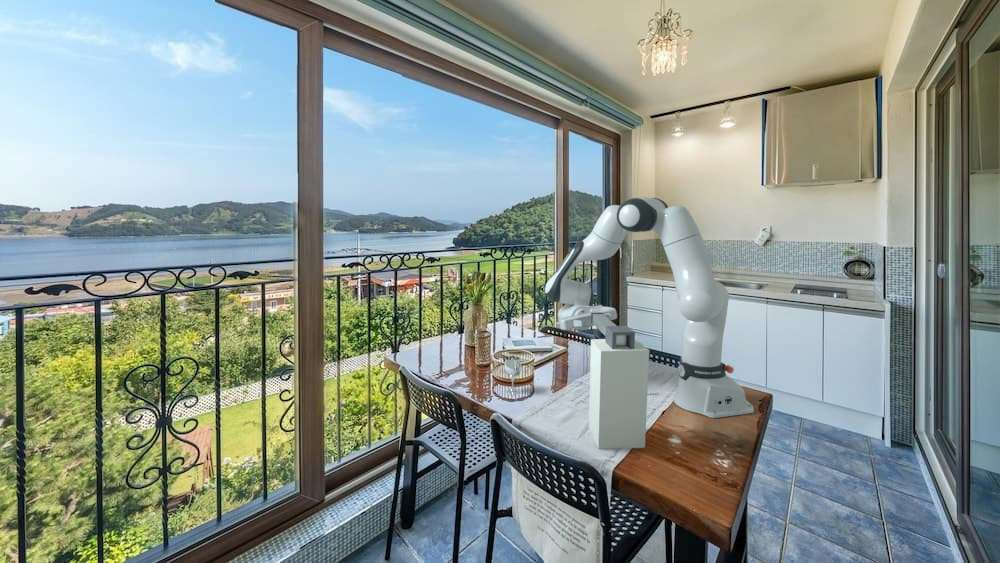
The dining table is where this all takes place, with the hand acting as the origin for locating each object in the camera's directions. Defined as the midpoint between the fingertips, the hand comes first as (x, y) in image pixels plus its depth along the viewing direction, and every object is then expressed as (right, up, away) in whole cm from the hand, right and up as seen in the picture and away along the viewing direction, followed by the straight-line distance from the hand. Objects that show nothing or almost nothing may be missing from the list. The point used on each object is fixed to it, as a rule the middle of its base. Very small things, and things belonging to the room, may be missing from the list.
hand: (596, 320), depth 130 cm
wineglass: (-27, -25, +6) cm, 38 cm away
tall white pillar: (-1, -29, -24) cm, 38 cm away
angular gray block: (-1, -2, -18) cm, 18 cm away
